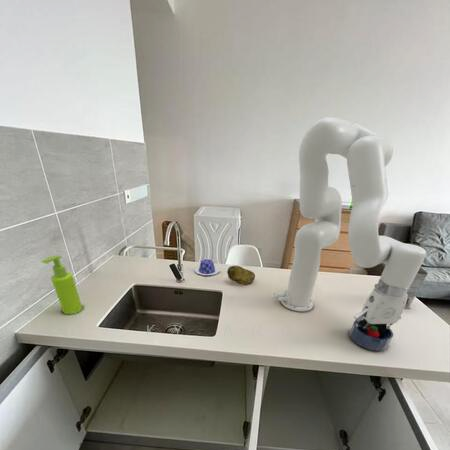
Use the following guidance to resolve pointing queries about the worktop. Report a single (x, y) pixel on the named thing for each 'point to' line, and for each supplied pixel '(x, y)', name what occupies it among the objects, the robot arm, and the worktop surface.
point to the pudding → (206, 268)
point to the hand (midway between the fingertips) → (369, 335)
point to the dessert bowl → (370, 338)
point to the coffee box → (415, 286)
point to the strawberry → (373, 331)
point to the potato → (240, 275)
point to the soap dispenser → (64, 286)
